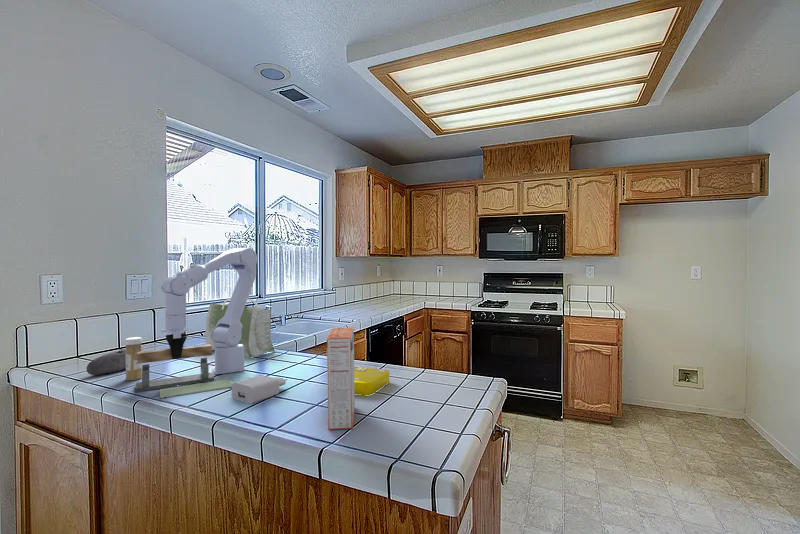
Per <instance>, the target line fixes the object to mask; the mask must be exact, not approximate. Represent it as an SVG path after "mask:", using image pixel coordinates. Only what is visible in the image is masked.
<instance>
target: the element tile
mask: <svg viewBox="0 0 800 534" xmlns="http://www.w3.org/2000/svg"><path fill="white" fill-rule="evenodd" d="M387 383H389V384H390V370H388V369H385V368H384V369H381V368H374V367H364V366H359V365H354V390H355V394H361V395H370V394H373V393H375V392H376V391H377V390H379V389H380V388H382V387H383V386H384V385H386V384H387Z"/></svg>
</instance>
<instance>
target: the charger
mask: <svg viewBox="0 0 800 534" xmlns="http://www.w3.org/2000/svg"><path fill="white" fill-rule="evenodd" d="M287 381H288V379H287V378H285V379H284V377H277V376H276V377H272V376H267V375H262V374H261V375H260V374H259V375H256V376H252V377H248V378H246V379H241V380H239V381H234V382H231V383H232V387H231V398H232V399H233V400H238V401H241V402H243V403H247V404H250V405H251V404H255V403H257V402H260V401H263V400H265V399H268V398H269V399H270V398H271V397H275V396H277V395H279V394H280V387H282V386H284V385H285V384H286V383H287ZM274 395H275V396H274Z"/></svg>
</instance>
